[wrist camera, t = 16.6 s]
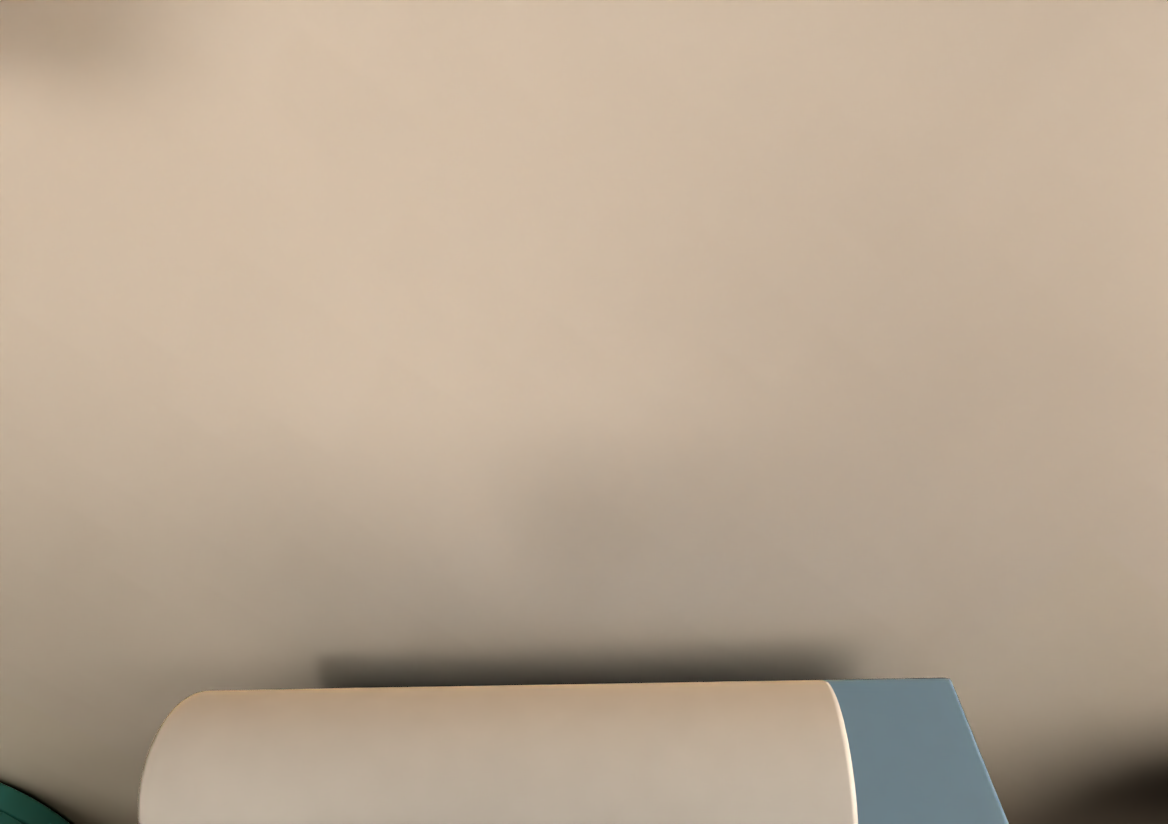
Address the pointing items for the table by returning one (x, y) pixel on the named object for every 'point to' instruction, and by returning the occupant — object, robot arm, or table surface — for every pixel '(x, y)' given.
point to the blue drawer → (572, 755)
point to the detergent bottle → (24, 809)
